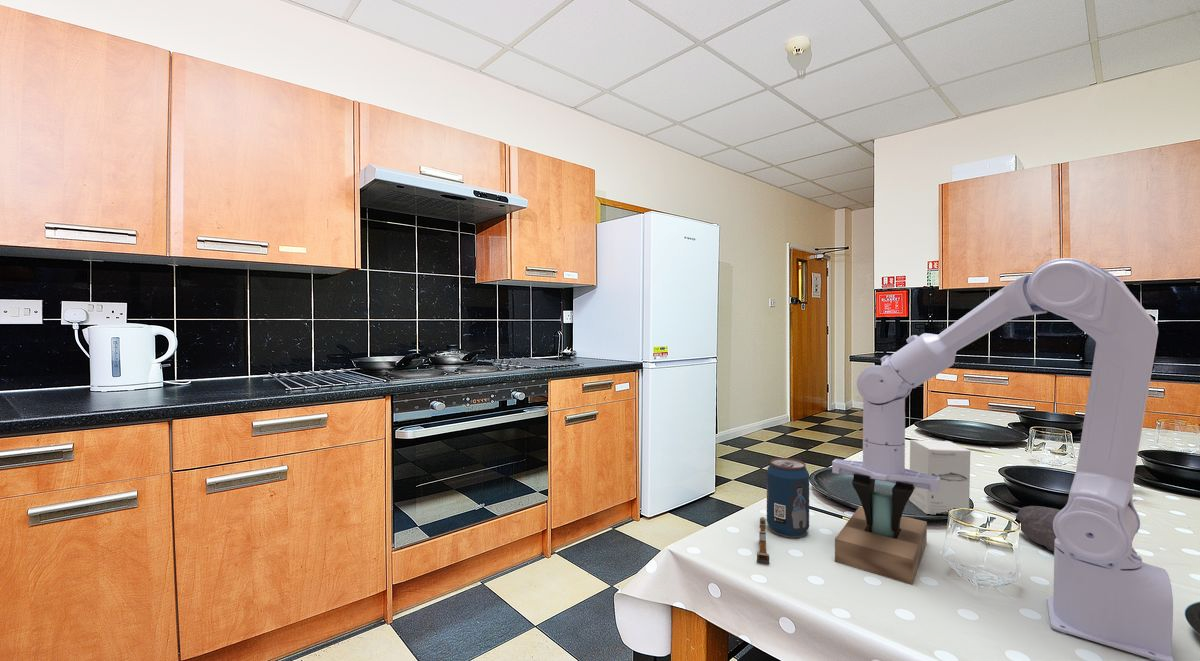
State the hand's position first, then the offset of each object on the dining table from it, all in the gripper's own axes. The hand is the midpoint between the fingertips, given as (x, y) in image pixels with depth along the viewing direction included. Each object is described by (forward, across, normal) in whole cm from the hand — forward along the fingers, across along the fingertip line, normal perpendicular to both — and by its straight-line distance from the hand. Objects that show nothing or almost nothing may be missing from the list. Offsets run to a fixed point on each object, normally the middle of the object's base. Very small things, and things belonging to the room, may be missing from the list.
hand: (882, 526), depth 76 cm
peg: (+3, 0, 0) cm, 3 cm away
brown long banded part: (+4, -15, -12) cm, 20 cm away
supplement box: (+4, +5, +26) cm, 27 cm away
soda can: (+4, -14, -2) cm, 15 cm away
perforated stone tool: (+4, +22, +17) cm, 28 cm away
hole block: (+4, 0, 0) cm, 4 cm away
